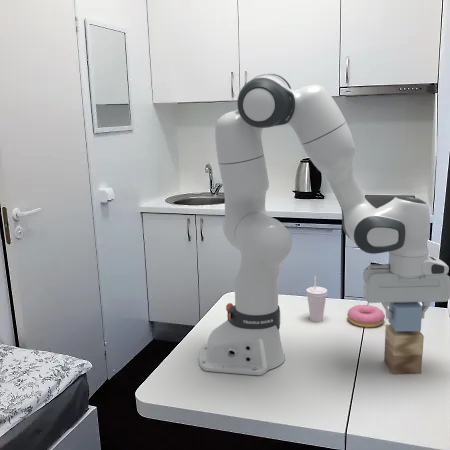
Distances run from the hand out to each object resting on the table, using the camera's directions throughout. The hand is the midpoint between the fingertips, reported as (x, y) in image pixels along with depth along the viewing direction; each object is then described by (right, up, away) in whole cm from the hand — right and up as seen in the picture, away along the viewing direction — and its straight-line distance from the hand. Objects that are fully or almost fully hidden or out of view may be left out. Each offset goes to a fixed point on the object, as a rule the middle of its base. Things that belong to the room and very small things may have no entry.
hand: (404, 318), depth 126 cm
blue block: (0, -2, +1) cm, 2 cm away
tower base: (0, -13, +3) cm, 13 cm away
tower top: (0, -8, +2) cm, 8 cm away
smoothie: (-16, -7, +33) cm, 37 cm away
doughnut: (-1, -7, +31) cm, 31 cm away
